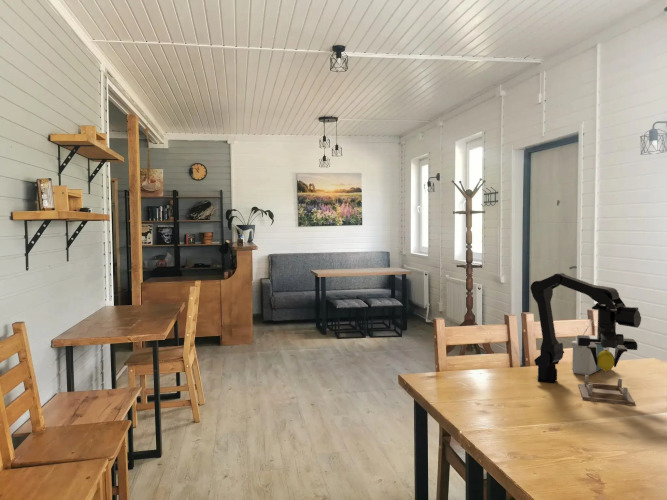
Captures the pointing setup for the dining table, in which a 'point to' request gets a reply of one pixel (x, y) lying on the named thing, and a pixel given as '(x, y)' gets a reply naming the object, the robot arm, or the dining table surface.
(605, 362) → the lemon
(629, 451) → the dining table surface
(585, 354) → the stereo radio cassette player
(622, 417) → the dining table surface
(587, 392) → the cradle tray
